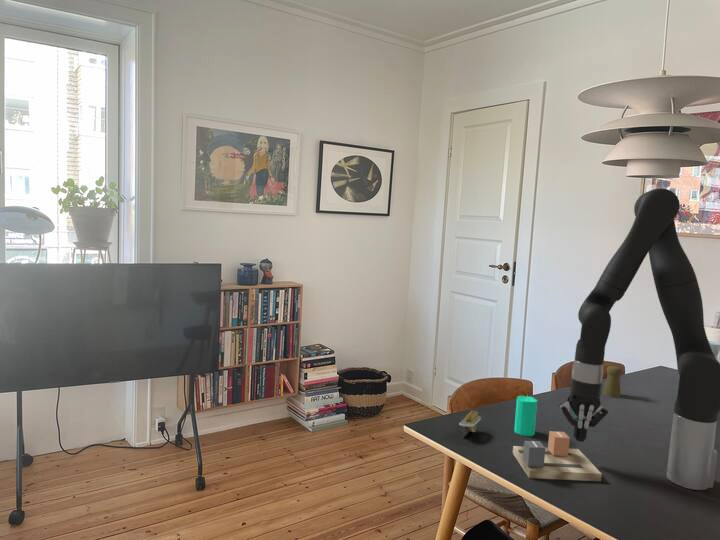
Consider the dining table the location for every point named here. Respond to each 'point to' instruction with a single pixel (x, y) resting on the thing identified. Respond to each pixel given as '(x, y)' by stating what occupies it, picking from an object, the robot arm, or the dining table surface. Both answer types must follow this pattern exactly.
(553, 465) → the panel
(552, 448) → the block
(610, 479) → the dining table surface
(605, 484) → the dining table surface
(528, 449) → the fader
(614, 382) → the cork
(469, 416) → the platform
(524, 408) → the candle
